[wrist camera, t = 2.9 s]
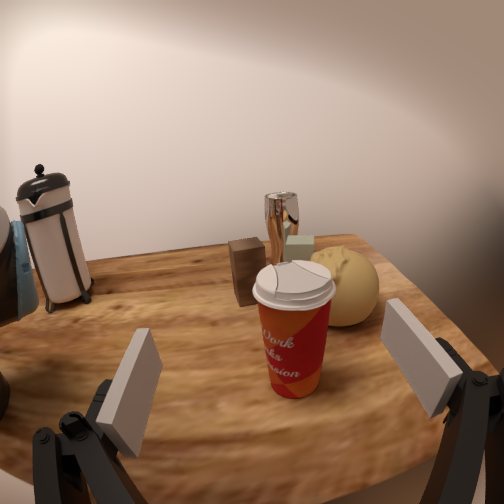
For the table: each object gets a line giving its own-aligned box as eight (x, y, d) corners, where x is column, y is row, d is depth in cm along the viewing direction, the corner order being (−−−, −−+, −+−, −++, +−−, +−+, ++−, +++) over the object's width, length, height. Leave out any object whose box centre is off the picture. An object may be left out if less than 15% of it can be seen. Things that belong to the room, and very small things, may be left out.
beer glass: (271, 257, 66) (266, 192, 61) (301, 257, 65) (298, 191, 59) (266, 270, 60) (260, 199, 54) (299, 270, 58) (297, 197, 53)
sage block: (287, 284, 53) (285, 244, 50) (289, 273, 58) (288, 235, 55) (313, 284, 52) (313, 244, 49) (314, 273, 57) (313, 235, 54)
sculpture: (304, 294, 49) (303, 235, 45) (371, 296, 46) (377, 236, 42) (295, 334, 39) (293, 265, 35) (378, 337, 36) (389, 267, 32)
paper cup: (254, 368, 33) (242, 266, 28) (311, 353, 35) (313, 252, 30) (273, 415, 26) (266, 305, 21) (339, 393, 28) (353, 284, 23)
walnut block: (239, 307, 47) (233, 251, 44) (234, 293, 52) (228, 241, 48) (268, 301, 48) (264, 246, 45) (261, 288, 53) (256, 236, 49)
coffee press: (115, 286, 58) (87, 150, 47) (62, 321, 45) (19, 166, 34) (77, 276, 65) (52, 163, 54) (31, 303, 52) (-2, 179, 41)
